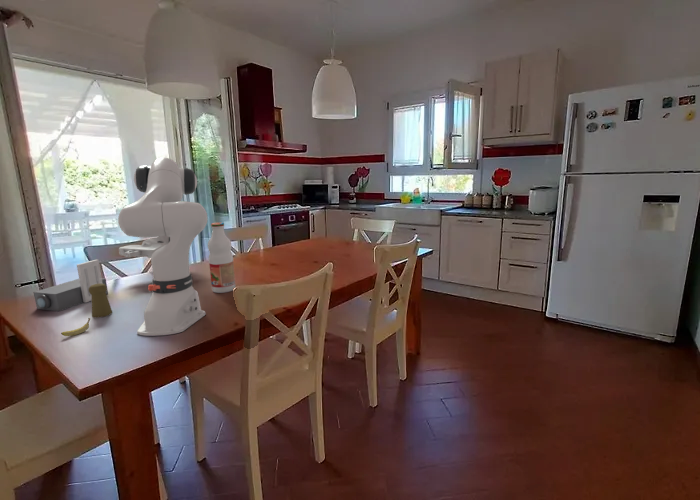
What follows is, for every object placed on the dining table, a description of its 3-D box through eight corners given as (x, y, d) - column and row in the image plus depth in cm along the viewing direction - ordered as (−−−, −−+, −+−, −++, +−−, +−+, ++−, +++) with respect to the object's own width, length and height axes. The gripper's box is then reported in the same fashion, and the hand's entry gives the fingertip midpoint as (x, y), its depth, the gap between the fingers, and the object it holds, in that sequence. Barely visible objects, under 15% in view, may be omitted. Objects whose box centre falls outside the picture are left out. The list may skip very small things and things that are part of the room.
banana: (90, 328, 118) (88, 316, 117) (93, 329, 117) (91, 317, 117) (61, 338, 111) (58, 326, 111) (64, 339, 111) (61, 327, 110)
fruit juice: (234, 292, 150) (227, 224, 144) (210, 294, 149) (202, 225, 143) (237, 285, 159) (231, 221, 153) (214, 287, 158) (207, 222, 152)
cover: (86, 302, 142) (79, 264, 138) (83, 302, 142) (76, 264, 139) (105, 295, 149) (99, 259, 146) (102, 295, 150) (96, 259, 146)
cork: (100, 318, 126) (94, 287, 124) (87, 316, 128) (82, 286, 126) (116, 312, 132) (111, 282, 129) (104, 310, 134) (99, 281, 131)
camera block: (54, 313, 132) (50, 293, 130) (31, 310, 135) (27, 291, 134) (108, 293, 152) (105, 276, 151) (87, 291, 156) (84, 275, 154)
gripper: (132, 240, 174) (106, 246, 161) (168, 242, 168) (144, 249, 155) (134, 253, 175) (109, 260, 162) (170, 255, 170) (146, 263, 157)
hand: (126, 255), depth 159 cm, fingers closed
